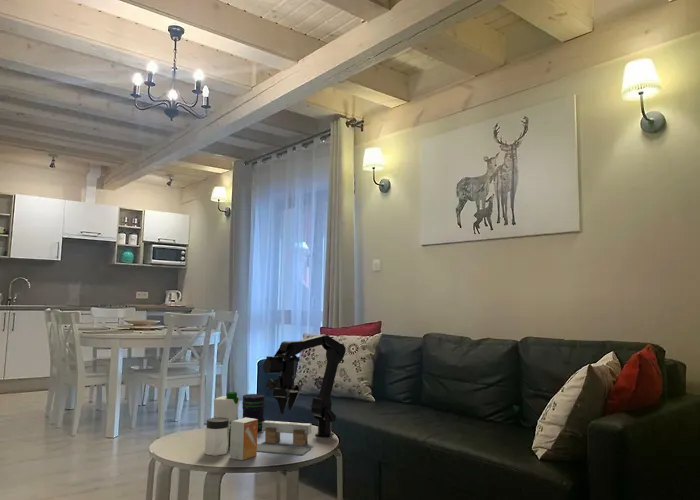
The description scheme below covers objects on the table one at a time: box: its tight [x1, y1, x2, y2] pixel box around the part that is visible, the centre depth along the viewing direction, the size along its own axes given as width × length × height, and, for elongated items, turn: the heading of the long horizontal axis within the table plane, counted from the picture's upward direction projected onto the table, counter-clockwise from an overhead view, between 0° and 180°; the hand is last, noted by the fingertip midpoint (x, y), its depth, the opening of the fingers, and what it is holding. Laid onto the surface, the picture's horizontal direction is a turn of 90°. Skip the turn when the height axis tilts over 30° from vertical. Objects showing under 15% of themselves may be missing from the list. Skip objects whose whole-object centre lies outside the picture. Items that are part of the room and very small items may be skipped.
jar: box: [204, 417, 229, 457], centre depth 197 cm, size 9×8×12 cm
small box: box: [229, 417, 258, 461], centre depth 193 cm, size 8×6×13 cm
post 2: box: [292, 430, 309, 446], centre depth 212 cm, size 6×4×6 cm
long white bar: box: [262, 420, 312, 436], centre depth 214 cm, size 4×20×4 cm, turn 75°
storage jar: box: [241, 393, 266, 433], centre depth 234 cm, size 10×10×15 cm
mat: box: [257, 443, 312, 456], centre depth 201 cm, size 9×24×1 cm, turn 75°
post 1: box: [264, 428, 281, 444], centre depth 215 cm, size 6×4×6 cm
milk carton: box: [213, 391, 240, 448], centre depth 210 cm, size 9×9×20 cm
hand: (286, 411), depth 214 cm, fingers open, 9 cm apart
